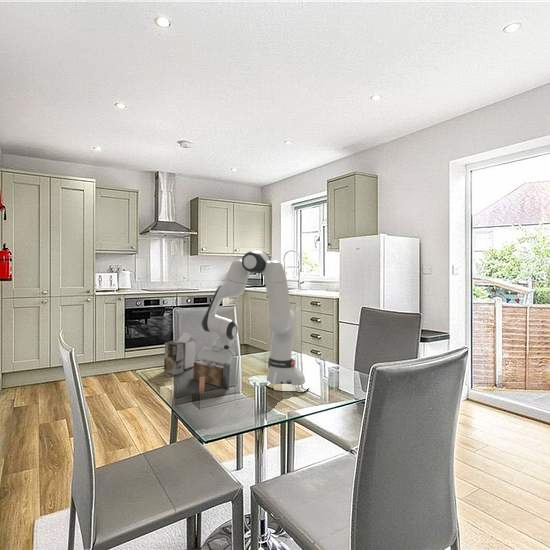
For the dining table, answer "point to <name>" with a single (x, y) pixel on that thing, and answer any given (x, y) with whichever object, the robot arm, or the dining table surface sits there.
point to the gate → (208, 373)
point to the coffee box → (174, 357)
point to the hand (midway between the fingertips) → (207, 370)
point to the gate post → (226, 376)
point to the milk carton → (188, 350)
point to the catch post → (202, 385)
